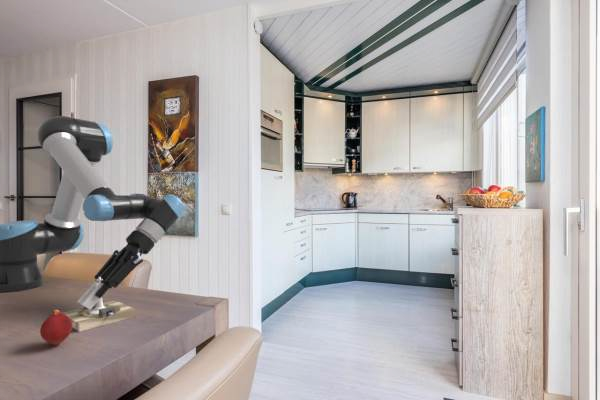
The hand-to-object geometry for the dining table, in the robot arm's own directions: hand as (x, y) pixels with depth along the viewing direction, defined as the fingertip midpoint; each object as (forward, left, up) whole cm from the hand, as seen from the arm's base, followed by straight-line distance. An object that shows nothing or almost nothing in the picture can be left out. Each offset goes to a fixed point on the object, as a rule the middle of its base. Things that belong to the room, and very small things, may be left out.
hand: (83, 305), depth 89 cm
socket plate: (0, +4, -4) cm, 6 cm away
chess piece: (0, +4, -3) cm, 5 cm away
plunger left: (-4, +4, -2) cm, 6 cm away
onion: (+10, -9, -5) cm, 14 cm away
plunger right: (+5, +4, -2) cm, 7 cm away
